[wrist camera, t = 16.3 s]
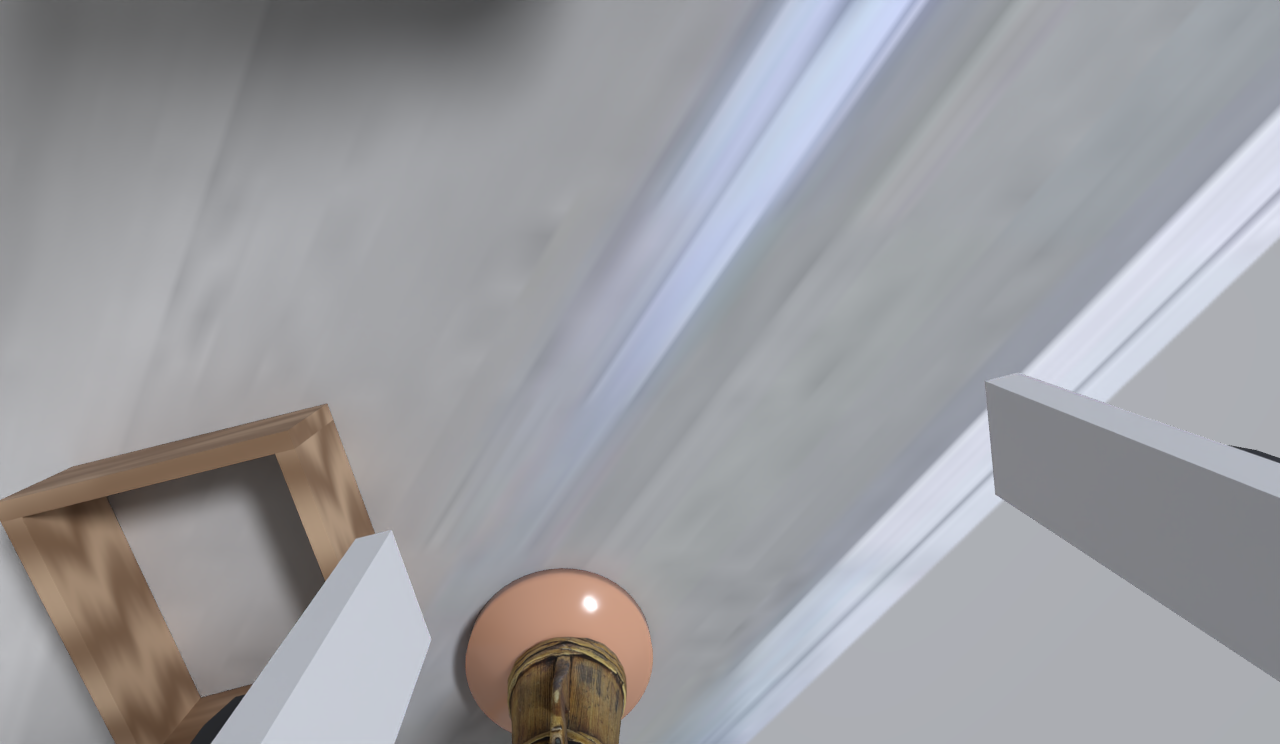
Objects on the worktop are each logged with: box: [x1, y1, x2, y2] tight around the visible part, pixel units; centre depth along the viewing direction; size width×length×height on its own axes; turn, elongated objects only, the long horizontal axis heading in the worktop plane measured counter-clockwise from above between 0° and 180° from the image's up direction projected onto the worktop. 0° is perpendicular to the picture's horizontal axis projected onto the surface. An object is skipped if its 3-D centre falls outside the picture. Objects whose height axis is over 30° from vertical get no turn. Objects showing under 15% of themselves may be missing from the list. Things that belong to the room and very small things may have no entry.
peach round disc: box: [465, 568, 653, 733], centre depth 48 cm, size 14×14×2 cm
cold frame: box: [0, 404, 375, 744], centre depth 39 cm, size 20×17×12 cm
